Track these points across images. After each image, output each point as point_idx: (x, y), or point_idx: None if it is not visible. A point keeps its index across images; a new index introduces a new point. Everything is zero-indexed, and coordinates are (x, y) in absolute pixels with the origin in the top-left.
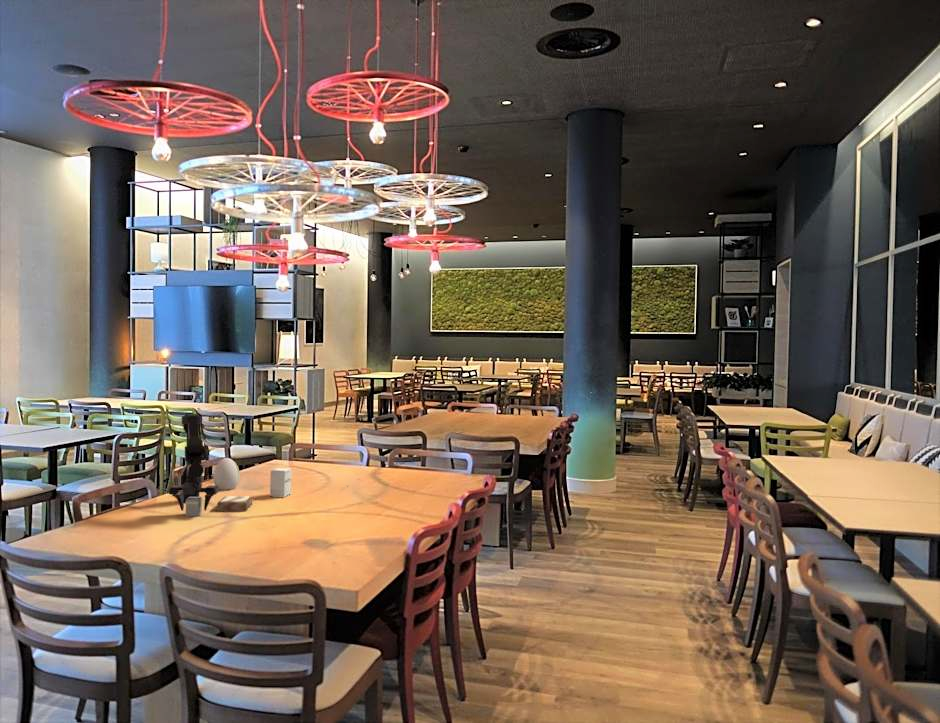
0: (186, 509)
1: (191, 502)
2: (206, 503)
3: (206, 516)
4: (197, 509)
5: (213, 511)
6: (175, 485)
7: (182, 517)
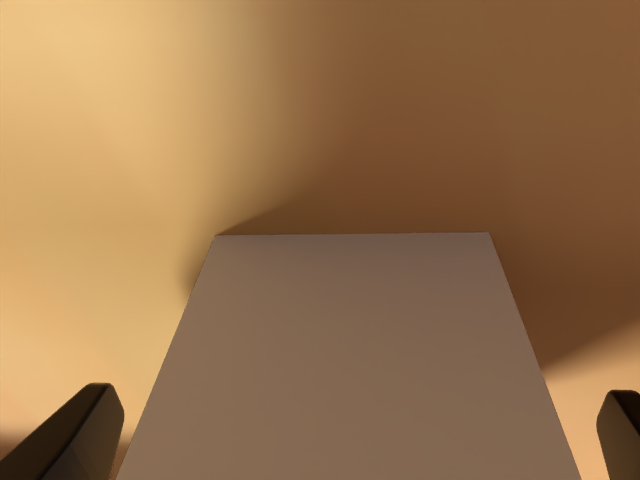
0: (507, 346)
1: None
2: None
3: (22, 210)
4: (189, 345)
5: None
6: None
7: (544, 103)
